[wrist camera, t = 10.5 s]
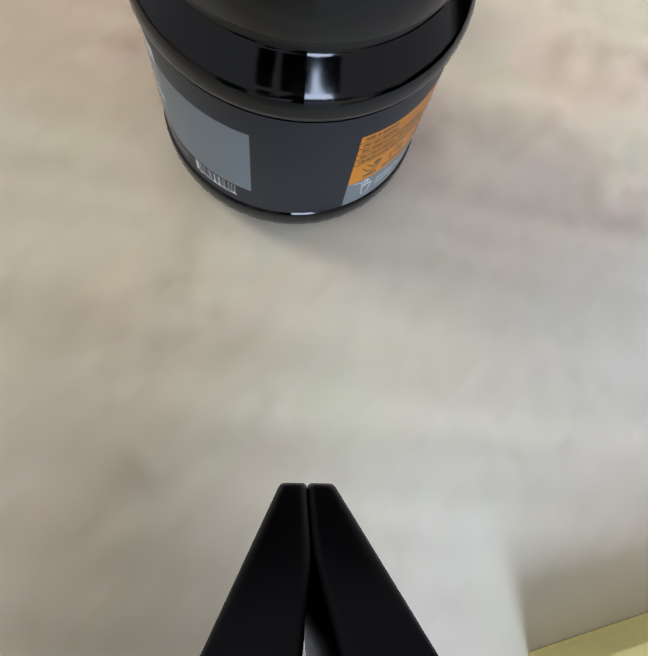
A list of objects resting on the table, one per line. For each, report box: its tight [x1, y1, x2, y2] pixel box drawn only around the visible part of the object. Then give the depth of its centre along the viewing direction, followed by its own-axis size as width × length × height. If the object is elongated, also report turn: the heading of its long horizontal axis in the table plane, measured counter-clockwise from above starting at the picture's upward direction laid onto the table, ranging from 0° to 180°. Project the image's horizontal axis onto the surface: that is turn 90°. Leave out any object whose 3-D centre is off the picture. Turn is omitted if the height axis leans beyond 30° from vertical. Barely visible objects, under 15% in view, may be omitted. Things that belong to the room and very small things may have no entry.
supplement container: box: [129, 0, 476, 224], centre depth 18 cm, size 10×10×12 cm
